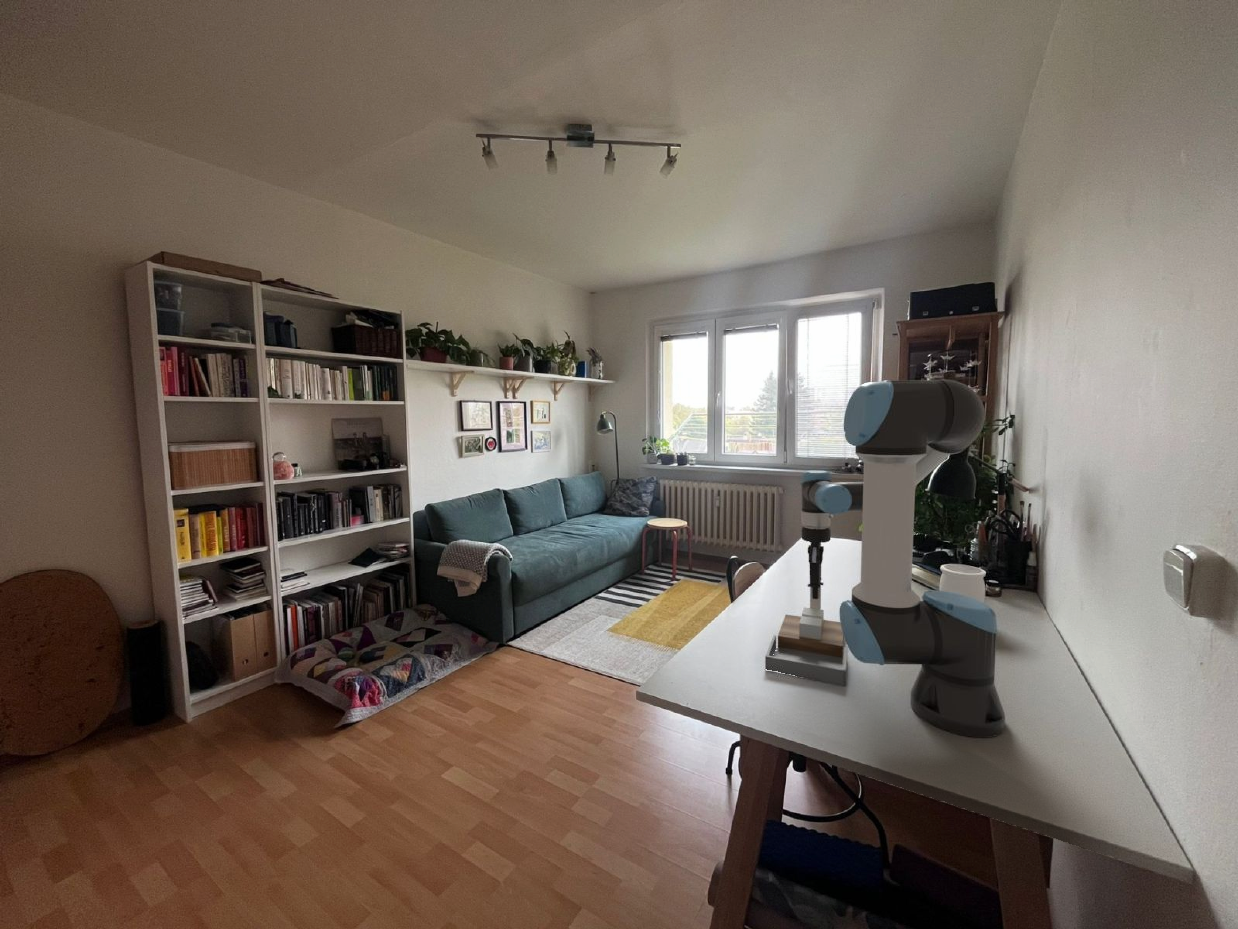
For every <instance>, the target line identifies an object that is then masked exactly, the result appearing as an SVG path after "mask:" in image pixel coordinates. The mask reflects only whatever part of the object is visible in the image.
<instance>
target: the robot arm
mask: <svg viewBox="0 0 1238 929" xmlns="http://www.w3.org/2000/svg"><path fill="white" fill-rule="evenodd" d="M985 413H986V411H985V406H984V404H983V401H982V400H981V398H980V397H979V395H978V393H976V392H975V391H974V390H973V389H972V388H971V387H969V385H966V384H964V383H962V382H959V381H956V380H953V379H945V378H942V379H941V378H940V379H937V378H935V379H920V380H919V379H918V380H882V381H874V382H873V381H871V382H865V383H863V384H860V386H858V387H857V388H856V389H855V390H854V391H853V392H852V394H851V396H850V398H849V400H848V401H847V404H846V409H845V413H844V417H843V432H844V438H845V440H846V442H847V443H849V444H850V445H851V446H854V447H855V449H854V450H855V455H856V456H857V457H858V458H859V459H860V460H862V461H861V462H863V479H862V481H843V482H842V481H841V482H839V481H837V482H836V481H835V482H833V480H832V475H831V472H830V471H827V470H806V471H804V472H802V474H801V482H800V485H801V514H800V515H801V518H800V519H801V520H800V521H801V523H800V524H801V525H802V526H801V540H803V541H805V542H809V543H810V544H809V545H808V547H807V555H808V563H809V583H808V584H807V587H808V588H809V608H812V609H820V610H822V609H821V608H822V606H821V605H822V604H821V602H822V586H824V582H822V564H823V560H824V559H823V558H824V557H823V556H824V552H825V550H824V549H825V548H824V545H822V543H827V542H830V541H831V533H832V532H831V530H832V529H831V528H830V526H831V519H834V515H842V514H843V513H845V512H861V513H862V519H861V520H862V522H861V550H860V551H861V552H860V554H861V556H860V559H861V560H860V582H859V583H858V584H856V585H855V586H853V587H852V589H851V600H849V599H846V600H844V601H842V602H841V603H840V606H839V622H840V623H841V628H842V632H843V635H844V640H845V643H846V647H847V649H849V651H850V653H851V654H852V655H853V657H854V658H855V659H856V660H857V661H859V662H861V663H863V664H872V665H873V664H876V665H880V666H884V665H921V667H920V670H919V672H918V675H917V677H916V679H915V681H914V683H913V685H912V688H911V690H910V707H911V708H912V709H913V711H914V712H915V714H916V715H917V716H919V717H920V718H921V719H922V720H924V721H926V722H927V723H929V724H931V725H933V726H935V727H937V728H940V729H942V730H944V731H947V732H950V733H953V734H956V735H961V736H967V737H972V738H992V737H996V736H998V735H1000V734H1002V733H1003V732H1004V730H1005V727H1006V726H1005V725H1006V716H1005V715H1006V714H1005V710H1004V708H1003V705H1002V702H1001V700H1000V697H999V696H1000V695H999V694H998V691H997V688H996V685H995V684H996V683H995V673H996V672H995V671H996V652H997V651H996V649H997V648H996V646H997V634H998V632H999V631H998V626H997V615H996V613H995V610H994V609H993V608H992V607H990V606H989V605H988V604H986V603H985V602H984V603H983V602H981V601H978V600H976V599H973V598H970V597H967V596H964V595H960V594H956V593H951V592H946V591H940V590H936V589H935V590H934V589H931V590H930V589H929V590H926V591H925V592H923V594H922V596H921V597H920V596H919V595H918V594H917V593H916V592H915V591H914V590H913V589H912V576H913V574H912V573H913V553H914V552H913V550H914V526H915V525H914V524H915V523H914V522H915V501H916V500H915V499H916V498H915V497H916V486H917V485H919V483H921V481H922V480H923V479H925V478H926V477H927V476H929V474H930V473H931V472H933V471H934V470H935V469H936V468H937V467H938V466H939V465H941V464H942V463H943V462H944V461H945V460H946V459H947V458H948V457H949V456H951V455H954V454H959V453H961V452H963V451H964V450H966V449H967V448H968V447H969V446H970V445H972V444H973V443H974V442H975V440H976V439H977V438H978V437H979V435H980V433H981V432H982V430H983V429H984V424H985V422H986V421H985V420H986V414H985ZM921 599H922V600H921Z"/></svg>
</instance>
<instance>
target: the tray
mask: <svg viewBox="0 0 1238 929" xmlns="http://www.w3.org/2000/svg"><path fill="white" fill-rule="evenodd" d="M776 647H778V646H777V634H773V636H772V638H771V641H770V643H769V646H768V648H767V651H766V653H765V656H764V658H765V660H764V662H765V663H764V664H765V669H767V670H772V671H778V672H781V673H785V674H791V675H795V676H797V678H800V677H803V678H802V679H805V678H808V679H807V680H811V679H813V680H812V681H817V682H821V681H822V682H821V683H827V684H832V685H837V684H838V686H843V687H846V686H847V671H848V668H847V666H848V664H847V663H848V646H847V645H846V646H845V645H843V658H840V657H834V656H828V655H822V654H816V653H810V652H804V651H798V650H792V649H786V648H781V647H778V648H776ZM775 650H777V651H775ZM773 654H774V655H773ZM785 674H784V675H785ZM795 676H794V677H795Z"/></svg>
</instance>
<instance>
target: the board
mask: <svg viewBox="0 0 1238 929" xmlns="http://www.w3.org/2000/svg"><path fill="white" fill-rule="evenodd" d="M800 619H801V616H800V615H791V614H785V616H784V618H783V621H782V623H781V626H780V629H779V631H778V634H777V647H781V648H786V649H792V650H798V651H804V652H810V653H816V654H822V655H828V656H834V657H840V658H844V644H845V643H844V640H845V638H844V635H843V632H842V628H841V623H840V621H836V620H835V621H834V620H827V619H824V623H823V629H822V635H821V640H818V639H811V638H805V637H799V623H800Z"/></svg>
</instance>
